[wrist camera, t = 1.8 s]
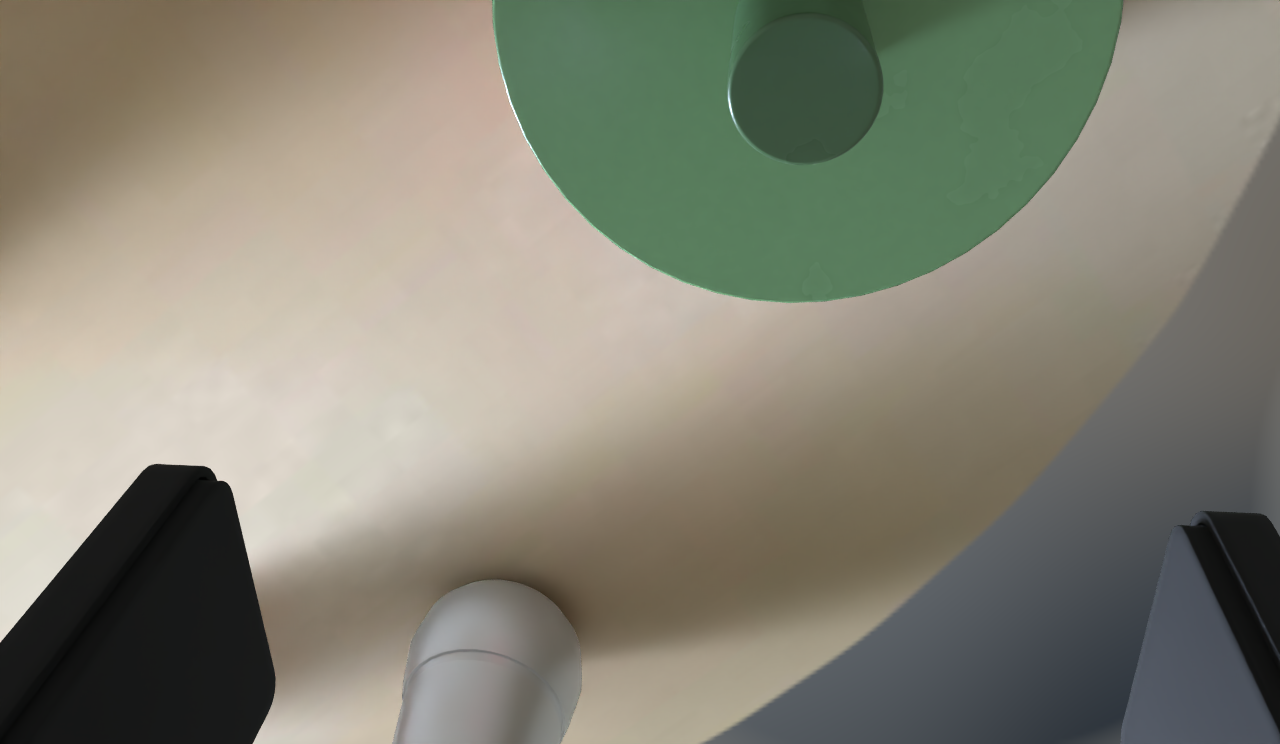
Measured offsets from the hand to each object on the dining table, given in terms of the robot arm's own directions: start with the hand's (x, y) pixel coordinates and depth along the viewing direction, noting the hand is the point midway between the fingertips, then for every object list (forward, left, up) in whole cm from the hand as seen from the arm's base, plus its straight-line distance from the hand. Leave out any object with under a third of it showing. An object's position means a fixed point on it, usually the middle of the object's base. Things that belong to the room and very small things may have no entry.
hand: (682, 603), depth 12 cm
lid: (0, +3, -16) cm, 16 cm away
